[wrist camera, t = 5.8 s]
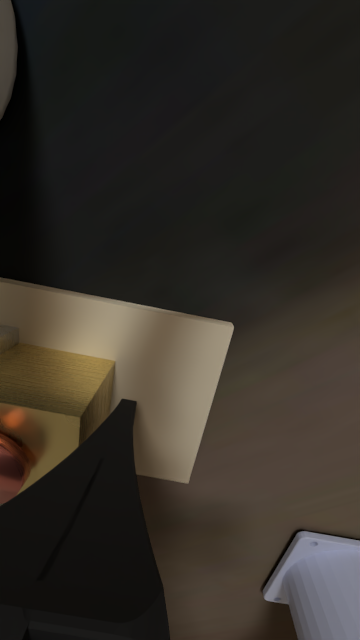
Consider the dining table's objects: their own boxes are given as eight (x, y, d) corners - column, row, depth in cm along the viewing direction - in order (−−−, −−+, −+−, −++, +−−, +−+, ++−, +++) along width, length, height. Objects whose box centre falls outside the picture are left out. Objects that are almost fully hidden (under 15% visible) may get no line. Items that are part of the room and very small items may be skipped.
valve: (115, 360, 11) (67, 438, 6) (107, 433, 12) (63, 533, 8) (-45, 330, 10) (-201, 389, 6) (-33, 407, 12) (-152, 496, 8)
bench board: (231, 322, 10) (234, 327, 10) (188, 473, 14) (188, 483, 13) (-191, 239, 10) (-214, 240, 9) (-129, 417, 13) (-144, 425, 13)
